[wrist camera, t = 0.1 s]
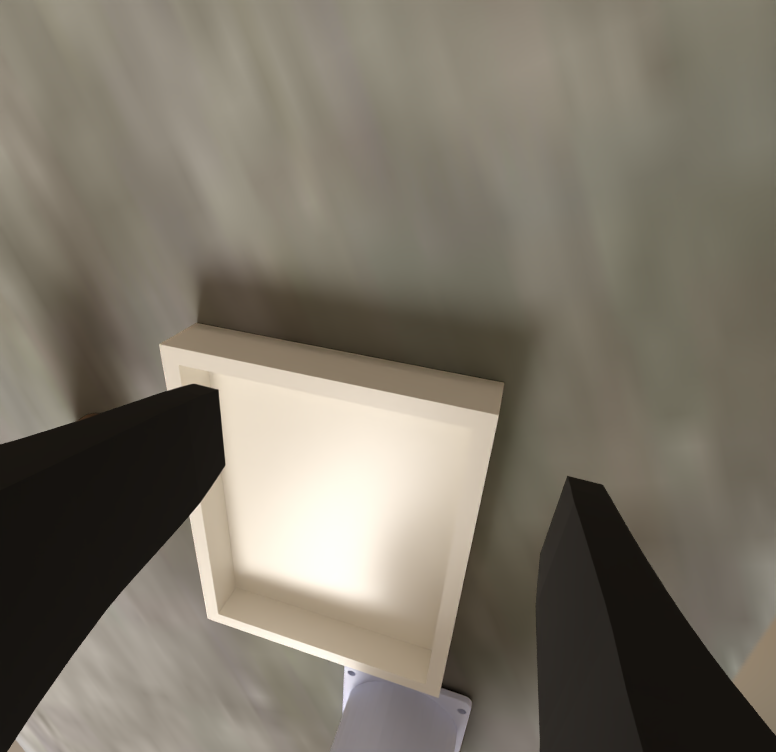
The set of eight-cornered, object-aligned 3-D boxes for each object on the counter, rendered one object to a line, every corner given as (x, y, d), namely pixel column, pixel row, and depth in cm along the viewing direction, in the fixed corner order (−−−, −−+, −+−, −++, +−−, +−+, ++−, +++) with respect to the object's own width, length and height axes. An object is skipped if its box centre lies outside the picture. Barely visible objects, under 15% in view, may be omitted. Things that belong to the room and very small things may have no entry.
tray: (447, 654, 28) (438, 698, 26) (231, 584, 31) (207, 618, 29) (504, 382, 19) (498, 415, 17) (196, 322, 22) (158, 344, 20)
